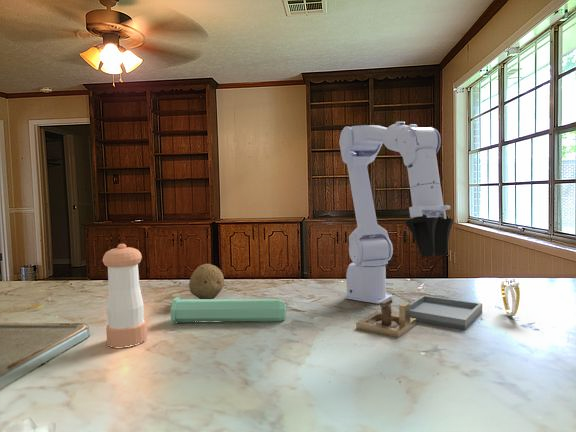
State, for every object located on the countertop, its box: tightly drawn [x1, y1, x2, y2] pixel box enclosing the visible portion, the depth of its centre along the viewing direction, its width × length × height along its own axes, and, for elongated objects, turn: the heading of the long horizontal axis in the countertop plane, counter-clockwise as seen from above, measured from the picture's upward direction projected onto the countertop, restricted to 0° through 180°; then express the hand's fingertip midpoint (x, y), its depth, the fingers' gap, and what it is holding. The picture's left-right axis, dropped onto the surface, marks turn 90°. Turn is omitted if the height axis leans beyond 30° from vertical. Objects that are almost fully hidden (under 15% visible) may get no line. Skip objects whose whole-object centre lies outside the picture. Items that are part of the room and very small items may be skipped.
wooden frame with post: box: [355, 302, 417, 338], centre depth 83 cm, size 9×9×5 cm
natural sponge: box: [188, 263, 225, 299], centre depth 105 cm, size 9×9×10 cm
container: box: [170, 296, 288, 324], centre depth 90 cm, size 6×6×25 cm
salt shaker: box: [102, 243, 148, 347], centre depth 79 cm, size 7×7×19 cm
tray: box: [409, 295, 483, 331], centre depth 89 cm, size 13×13×2 cm
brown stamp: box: [375, 298, 399, 328], centre depth 83 cm, size 4×4×5 cm
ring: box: [500, 278, 521, 317], centre depth 87 cm, size 7×3×8 cm, turn 165°
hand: (434, 255), depth 78 cm, fingers open, 7 cm apart
